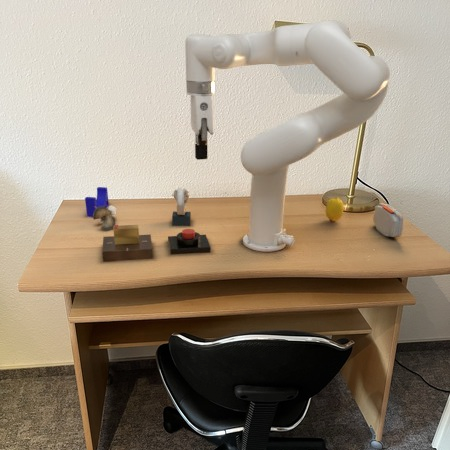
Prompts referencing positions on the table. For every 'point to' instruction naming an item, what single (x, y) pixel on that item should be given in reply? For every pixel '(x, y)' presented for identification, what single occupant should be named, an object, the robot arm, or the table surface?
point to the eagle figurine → (105, 216)
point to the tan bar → (126, 234)
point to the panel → (127, 249)
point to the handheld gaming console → (388, 220)
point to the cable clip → (97, 201)
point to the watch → (181, 208)
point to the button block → (188, 244)
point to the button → (188, 233)
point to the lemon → (334, 209)
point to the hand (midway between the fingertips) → (201, 158)
